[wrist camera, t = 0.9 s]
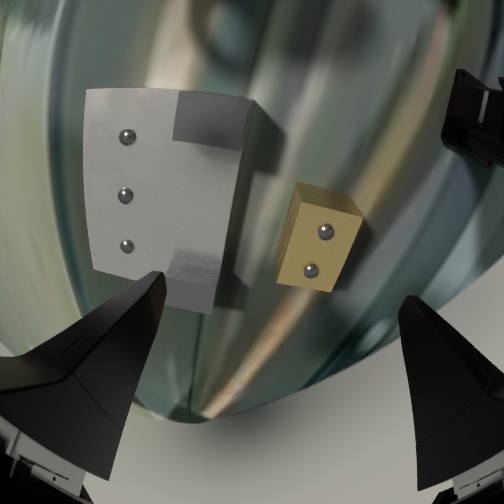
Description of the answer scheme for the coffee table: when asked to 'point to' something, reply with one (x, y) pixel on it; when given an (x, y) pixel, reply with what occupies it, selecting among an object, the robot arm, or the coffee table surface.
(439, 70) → the coffee table surface
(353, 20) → the coffee table surface
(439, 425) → the robot arm
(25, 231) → the coffee table surface
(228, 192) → the steel hinge plate
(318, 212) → the block
